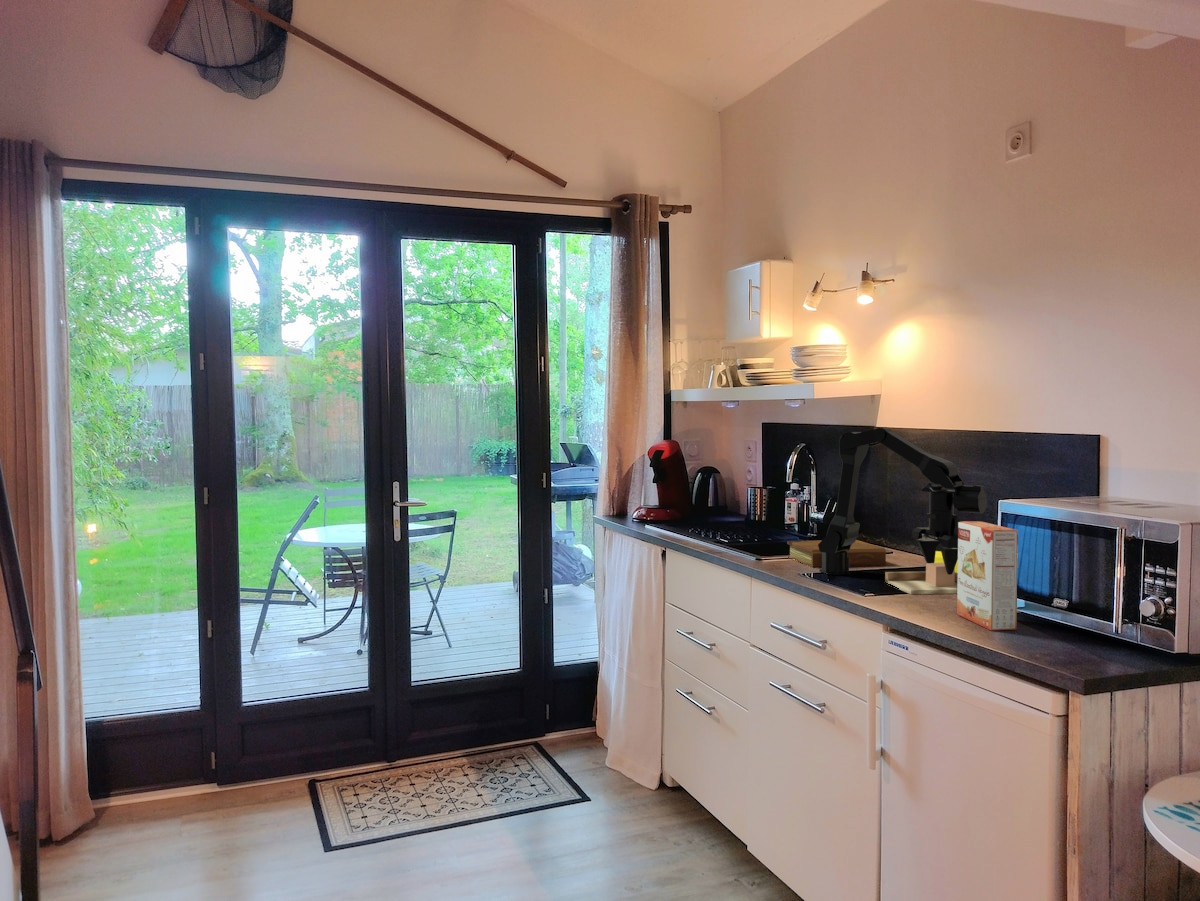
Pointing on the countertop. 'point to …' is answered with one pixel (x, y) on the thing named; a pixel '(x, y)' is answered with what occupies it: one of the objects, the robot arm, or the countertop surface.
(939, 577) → the cube
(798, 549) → the diary
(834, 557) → the robot arm
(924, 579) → the arena
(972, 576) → the cracker box
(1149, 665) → the countertop surface
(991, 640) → the countertop surface
